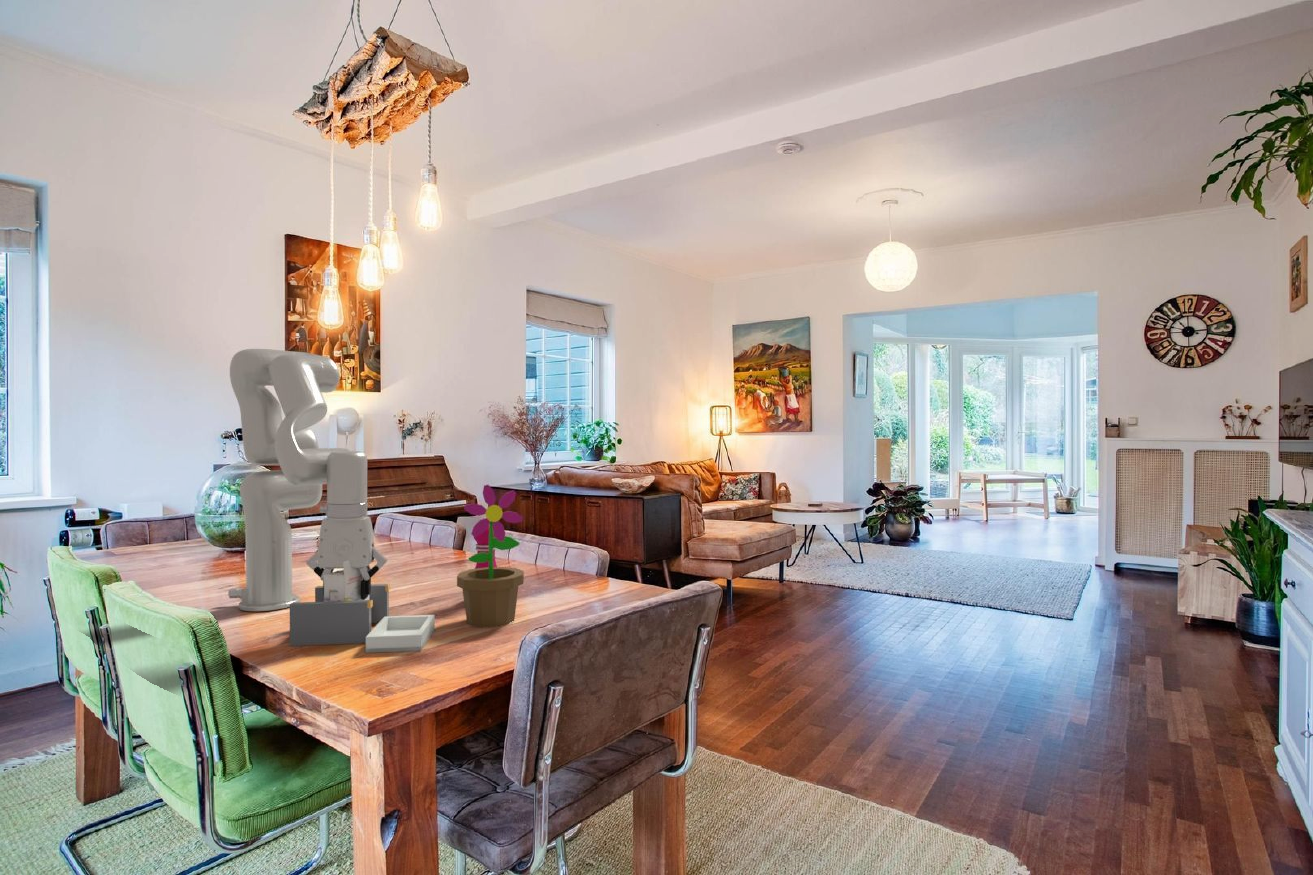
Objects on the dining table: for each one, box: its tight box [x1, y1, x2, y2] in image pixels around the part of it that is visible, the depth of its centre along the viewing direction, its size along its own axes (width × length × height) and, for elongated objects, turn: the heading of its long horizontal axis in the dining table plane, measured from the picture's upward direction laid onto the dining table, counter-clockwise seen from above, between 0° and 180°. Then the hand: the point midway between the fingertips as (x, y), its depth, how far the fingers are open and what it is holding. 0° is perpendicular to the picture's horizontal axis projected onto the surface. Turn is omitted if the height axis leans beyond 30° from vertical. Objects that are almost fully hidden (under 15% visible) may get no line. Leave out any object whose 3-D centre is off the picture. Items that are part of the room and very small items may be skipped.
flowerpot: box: [456, 484, 525, 628], centre depth 152 cm, size 14×14×30 cm
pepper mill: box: [473, 516, 498, 569], centre depth 171 cm, size 7×7×20 cm
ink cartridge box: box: [324, 560, 369, 602], centre depth 144 cm, size 9×5×15 cm, turn 169°
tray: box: [365, 614, 436, 654], centre depth 139 cm, size 10×14×3 cm
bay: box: [289, 583, 391, 647], centre depth 144 cm, size 15×16×8 cm
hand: (347, 597), depth 144 cm, fingers closed on ink cartridge box, 6 cm apart
